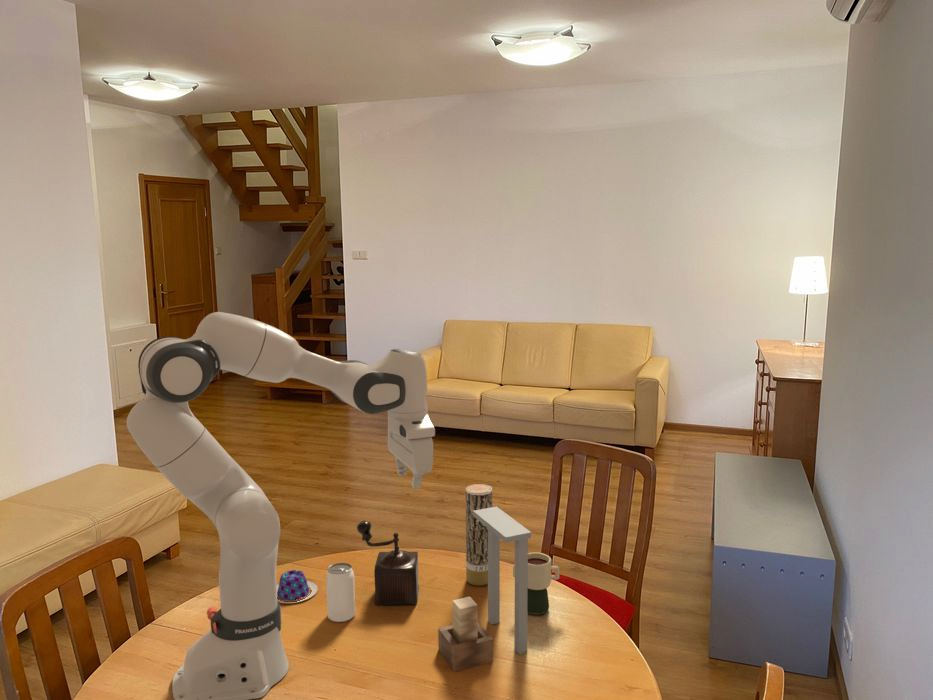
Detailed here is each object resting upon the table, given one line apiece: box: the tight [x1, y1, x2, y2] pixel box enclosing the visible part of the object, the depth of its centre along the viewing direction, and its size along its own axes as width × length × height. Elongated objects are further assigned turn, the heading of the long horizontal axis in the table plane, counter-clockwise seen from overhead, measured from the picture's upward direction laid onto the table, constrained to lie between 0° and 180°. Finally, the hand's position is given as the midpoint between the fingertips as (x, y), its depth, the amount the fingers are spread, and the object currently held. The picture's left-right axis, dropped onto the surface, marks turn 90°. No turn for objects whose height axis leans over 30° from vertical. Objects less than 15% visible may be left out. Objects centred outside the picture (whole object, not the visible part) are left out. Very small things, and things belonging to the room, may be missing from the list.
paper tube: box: [465, 483, 493, 587], centre depth 180 cm, size 7×7×25 cm
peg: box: [452, 596, 479, 644], centre depth 148 cm, size 4×4×12 cm
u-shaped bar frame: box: [473, 506, 532, 655], centre depth 154 cm, size 6×16×27 cm, turn 24°
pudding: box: [277, 569, 318, 604], centre depth 176 cm, size 12×12×5 cm
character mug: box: [512, 552, 560, 615], centre depth 167 cm, size 11×7×13 cm, turn 86°
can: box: [325, 562, 356, 623], centre depth 165 cm, size 6×6×12 cm
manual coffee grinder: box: [356, 520, 420, 607], centre depth 174 cm, size 16×11×18 cm
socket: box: [437, 622, 494, 673], centre depth 149 cm, size 9×9×5 cm
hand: (409, 481), depth 157 cm, fingers open, 8 cm apart
